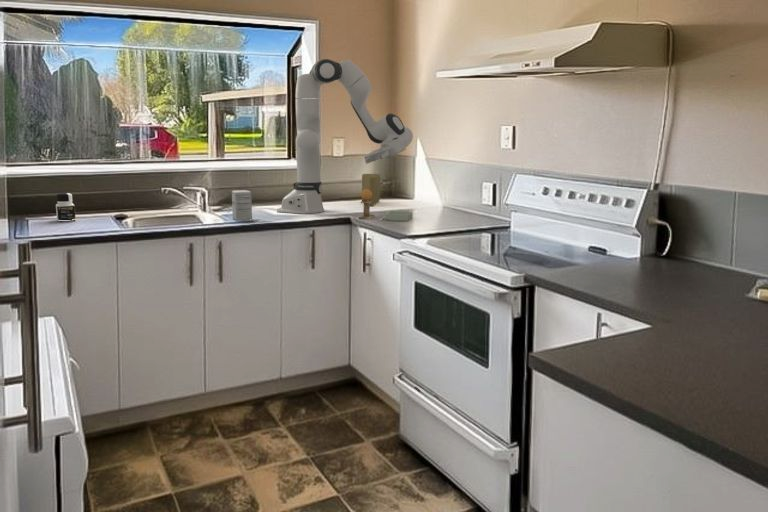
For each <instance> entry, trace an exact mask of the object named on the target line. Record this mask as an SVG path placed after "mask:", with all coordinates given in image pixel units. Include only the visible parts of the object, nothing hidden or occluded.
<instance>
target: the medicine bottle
mask: <svg viewBox="0 0 768 512" xmlns="http://www.w3.org/2000/svg"><path fill="white" fill-rule="evenodd" d="M56 201H57V203H56V204H55V212H56V213H55V214H56V220H57V219H58V220H72V219H76V220H77V217H76V206H75V204H74V203H73V194H72V193H70V192H60V193H57V194H56Z"/></svg>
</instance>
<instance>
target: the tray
mask: <svg viewBox="0 0 768 512" xmlns="http://www.w3.org/2000/svg"><path fill="white" fill-rule="evenodd" d="M384 216H385V218H384V221H385V220H387V222H388V221H392V222H410V220H412V219H413V211H405V210H404V211H401V210H389V211H387V212H385V213H384Z"/></svg>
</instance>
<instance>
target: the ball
mask: <svg viewBox="0 0 768 512" xmlns="http://www.w3.org/2000/svg"><path fill="white" fill-rule="evenodd" d="M360 196H361V199H362V198H363V199H364V200H369V199H371V197H372V192H371V191H370V190H369V189H364V190H363V191H362V190H361V192H360Z"/></svg>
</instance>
